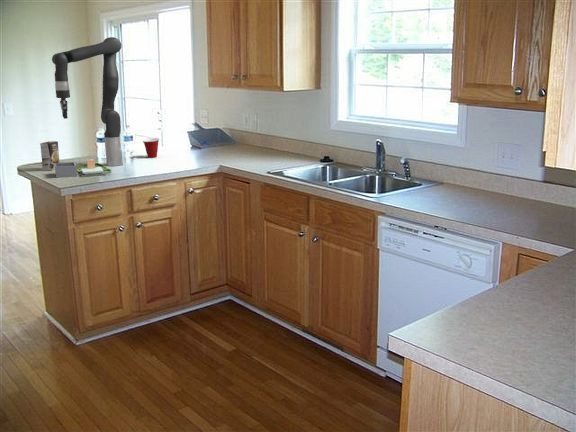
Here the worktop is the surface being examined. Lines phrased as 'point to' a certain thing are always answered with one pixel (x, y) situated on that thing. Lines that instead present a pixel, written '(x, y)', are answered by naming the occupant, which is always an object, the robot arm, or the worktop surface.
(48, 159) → the coffee box
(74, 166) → the tub
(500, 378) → the worktop surface
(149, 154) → the plastic cup
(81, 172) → the mat
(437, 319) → the worktop surface
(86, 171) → the lid
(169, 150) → the worktop surface
